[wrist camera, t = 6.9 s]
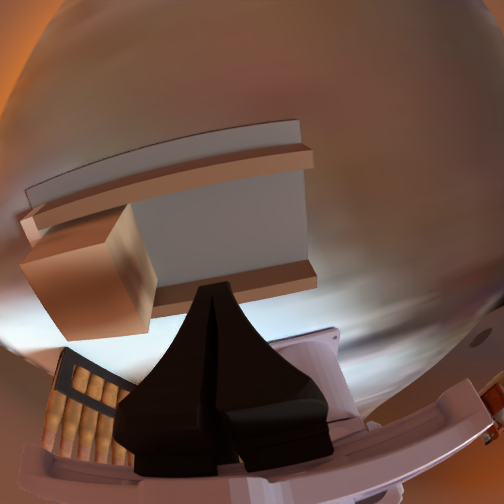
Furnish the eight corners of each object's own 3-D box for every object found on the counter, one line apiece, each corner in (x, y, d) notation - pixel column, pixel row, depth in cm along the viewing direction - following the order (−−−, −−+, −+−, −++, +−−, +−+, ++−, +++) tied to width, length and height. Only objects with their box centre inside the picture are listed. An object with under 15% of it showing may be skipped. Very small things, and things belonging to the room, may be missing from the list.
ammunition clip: (60, 353, 23) (32, 455, 13) (66, 345, 22) (36, 454, 12) (142, 397, 28) (137, 492, 18) (151, 392, 27) (147, 491, 17)
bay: (307, 281, 22) (316, 302, 20) (92, 319, 21) (84, 340, 19) (296, 119, 15) (310, 123, 13) (28, 188, 14) (10, 202, 12)
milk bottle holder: (496, 381, 62) (518, 420, 46) (505, 384, 76) (523, 414, 59) (453, 418, 70) (471, 456, 54) (472, 414, 84) (487, 443, 67)
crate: (157, 280, 19) (148, 332, 15) (87, 292, 19) (67, 341, 15) (129, 201, 16) (104, 242, 12) (54, 223, 16) (19, 264, 11)
